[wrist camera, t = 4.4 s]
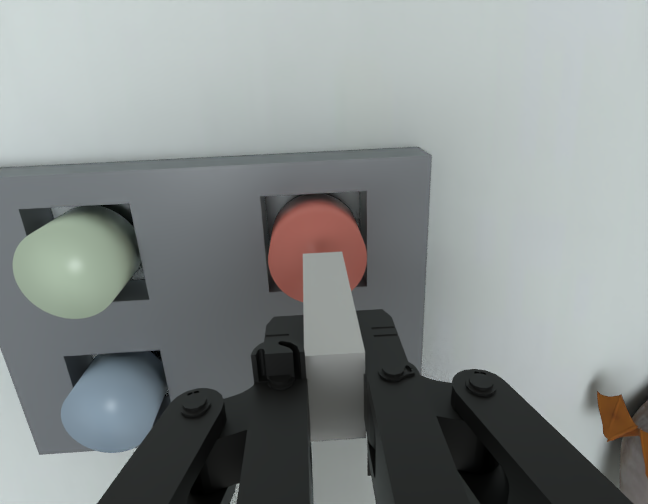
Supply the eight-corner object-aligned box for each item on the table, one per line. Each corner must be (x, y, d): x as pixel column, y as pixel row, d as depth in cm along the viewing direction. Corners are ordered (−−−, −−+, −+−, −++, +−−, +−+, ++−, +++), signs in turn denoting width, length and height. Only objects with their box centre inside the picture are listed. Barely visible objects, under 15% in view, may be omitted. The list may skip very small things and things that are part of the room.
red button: (275, 276, 24) (272, 307, 21) (268, 195, 22) (263, 215, 19) (358, 271, 24) (367, 301, 21) (357, 191, 22) (366, 209, 19)
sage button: (64, 289, 23) (29, 321, 20) (40, 207, 22) (-1, 230, 19) (149, 284, 24) (127, 315, 21) (132, 202, 22) (106, 224, 19)
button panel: (60, 423, 28) (39, 454, 26) (-24, 169, 22) (-61, 180, 20) (408, 398, 29) (418, 427, 27) (418, 147, 23) (431, 155, 21)
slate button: (99, 411, 26) (72, 455, 23) (81, 347, 25) (50, 386, 22) (174, 406, 27) (158, 449, 24) (161, 342, 25) (142, 380, 22)
